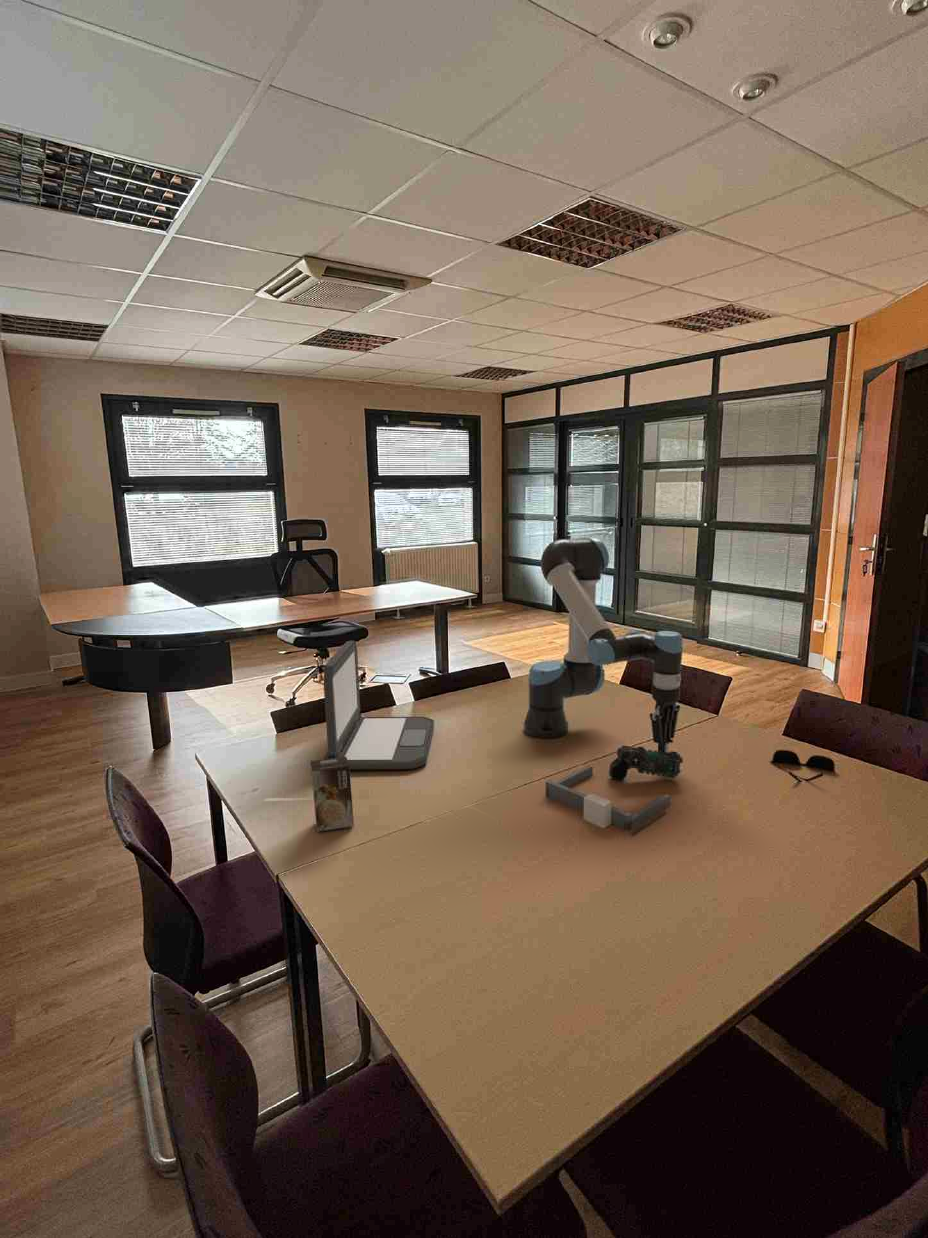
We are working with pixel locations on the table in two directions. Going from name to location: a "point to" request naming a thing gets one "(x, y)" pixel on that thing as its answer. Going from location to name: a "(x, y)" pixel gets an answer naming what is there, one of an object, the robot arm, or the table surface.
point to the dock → (601, 804)
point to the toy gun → (645, 762)
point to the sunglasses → (813, 762)
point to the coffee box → (332, 793)
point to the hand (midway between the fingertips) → (662, 763)
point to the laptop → (368, 723)
